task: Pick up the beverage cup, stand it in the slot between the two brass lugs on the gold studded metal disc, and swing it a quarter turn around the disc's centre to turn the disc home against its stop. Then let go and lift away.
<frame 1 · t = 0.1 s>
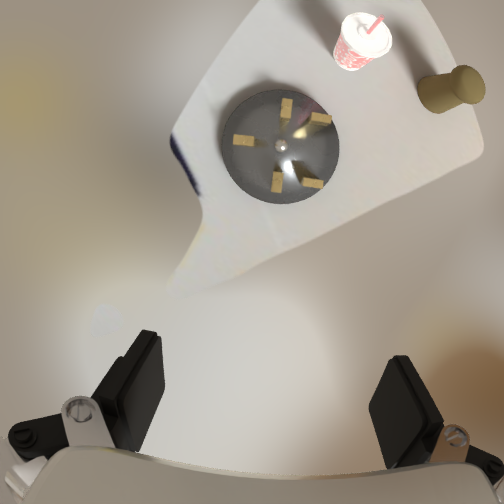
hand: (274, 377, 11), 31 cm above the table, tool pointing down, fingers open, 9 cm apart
beverage cup: (348, 56, 33), on the table
cork: (433, 94, 33), on the table
gold studded metal disc: (281, 145, 35), point 3 cm above the table, hinge at 0.0°
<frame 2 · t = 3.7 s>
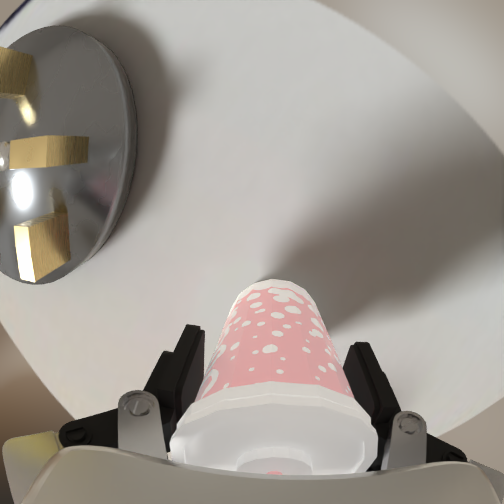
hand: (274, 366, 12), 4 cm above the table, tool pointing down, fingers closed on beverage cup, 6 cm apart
beverage cup: (274, 317, 16), on the table, touching gripper
gold studded metal disc: (4, 156, 11), point 3 cm above the table, hinge at 0.0°
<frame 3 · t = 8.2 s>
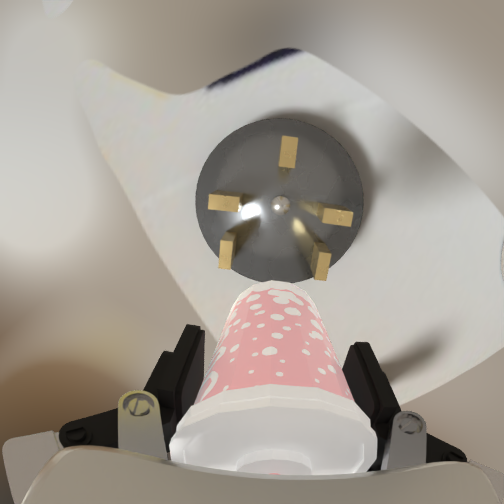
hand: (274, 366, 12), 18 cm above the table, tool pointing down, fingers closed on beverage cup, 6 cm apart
beverage cup: (273, 318, 16), point 14 cm above the table, touching gripper
gold studded metal disc: (280, 205, 25), point 3 cm above the table, hinge at 0.0°
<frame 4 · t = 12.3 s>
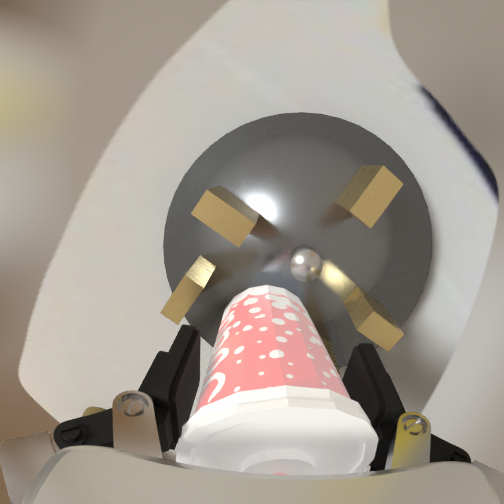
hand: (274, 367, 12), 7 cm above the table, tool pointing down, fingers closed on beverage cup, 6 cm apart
beverage cup: (265, 322, 16), point 3 cm above the table, touching gripper, gold studded metal disc
gold studded metal disc: (305, 264, 15), point 3 cm above the table, hinge at 37.7°, touching beverage cup
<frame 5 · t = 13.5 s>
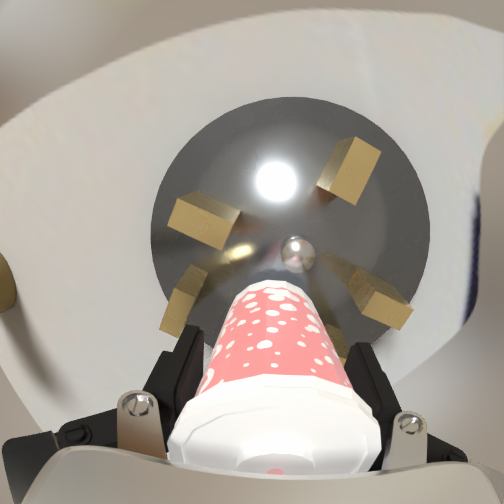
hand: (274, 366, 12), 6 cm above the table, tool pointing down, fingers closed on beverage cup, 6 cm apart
beverage cup: (272, 318, 15), point 2 cm above the table, touching gripper, gold studded metal disc
gold studded metal disc: (297, 254, 14), point 3 cm above the table, hinge at 87.7°, touching beverage cup
when the fingers open (6 cm above the table, at t = 13.6 s): beverage cup stays where it is, resting on gold studded metal disc.
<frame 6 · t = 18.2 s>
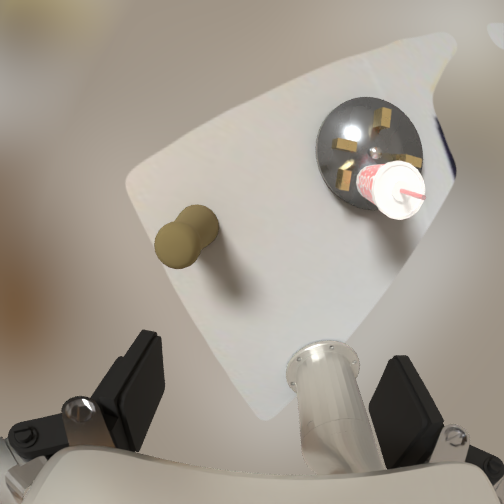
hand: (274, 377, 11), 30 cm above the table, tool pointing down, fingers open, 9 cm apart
beverage cup: (372, 182, 36), point 2 cm above the table, touching gold studded metal disc
cork: (197, 225, 41), on the table
gold studded metal disc: (375, 152, 34), point 3 cm above the table, hinge at 89.1°, touching beverage cup
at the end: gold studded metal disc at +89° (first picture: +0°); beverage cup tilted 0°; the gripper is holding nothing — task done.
